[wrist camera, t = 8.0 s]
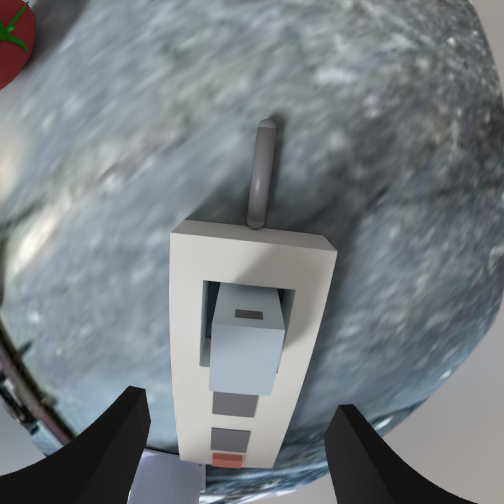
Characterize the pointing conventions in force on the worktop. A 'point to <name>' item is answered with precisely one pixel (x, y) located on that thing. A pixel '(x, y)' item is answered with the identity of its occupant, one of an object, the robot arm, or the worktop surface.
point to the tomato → (15, 38)
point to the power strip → (199, 347)
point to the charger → (245, 339)
